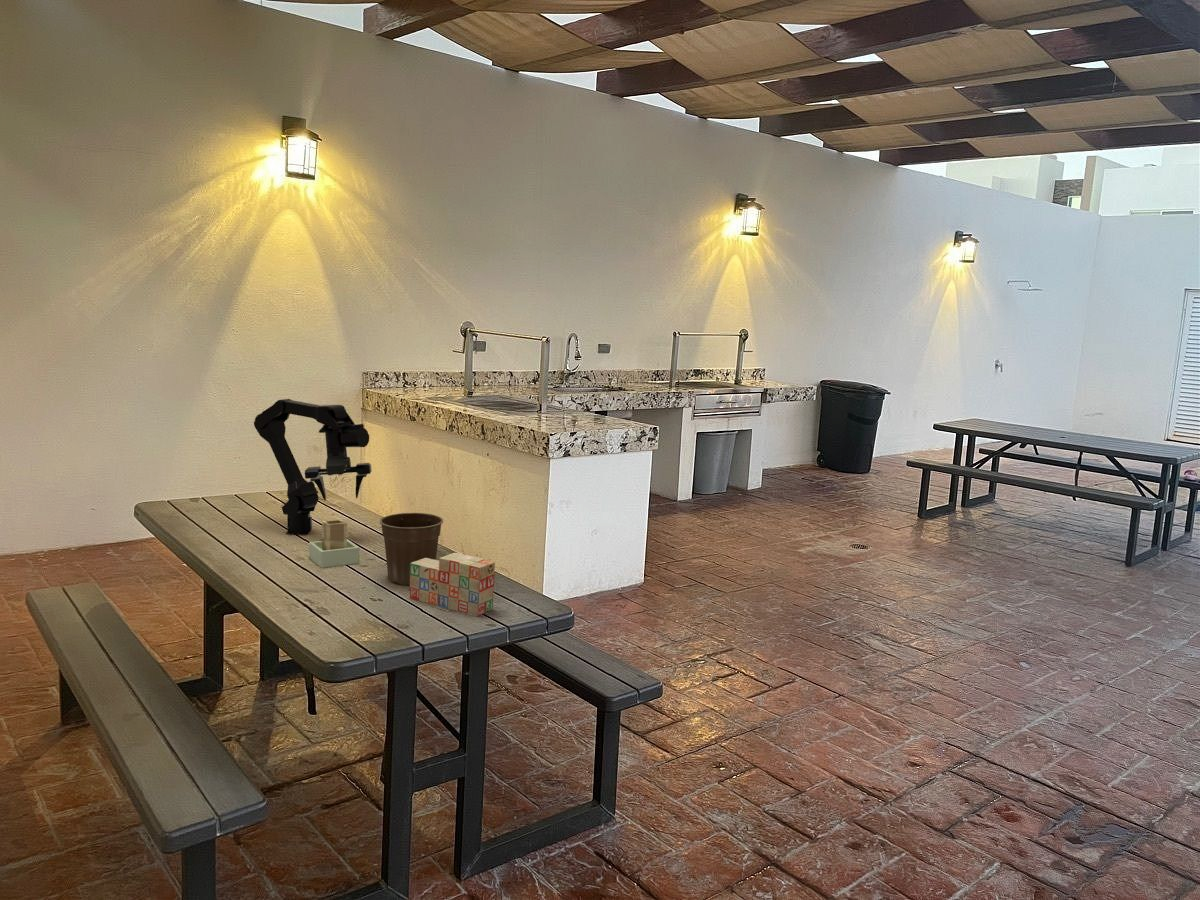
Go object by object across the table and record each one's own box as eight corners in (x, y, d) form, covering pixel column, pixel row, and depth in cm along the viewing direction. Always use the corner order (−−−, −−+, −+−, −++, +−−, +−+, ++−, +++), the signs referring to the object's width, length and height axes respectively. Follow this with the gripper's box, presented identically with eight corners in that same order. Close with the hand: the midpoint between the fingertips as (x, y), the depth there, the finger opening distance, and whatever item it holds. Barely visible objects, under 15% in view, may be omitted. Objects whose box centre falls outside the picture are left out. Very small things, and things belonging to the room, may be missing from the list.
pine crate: (321, 556, 255) (322, 521, 254) (341, 553, 259) (341, 519, 257) (327, 560, 252) (327, 524, 250) (346, 558, 255) (346, 523, 253)
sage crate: (309, 557, 257) (309, 542, 256) (346, 553, 263) (346, 538, 262) (321, 567, 248) (321, 551, 247) (359, 563, 254) (359, 547, 253)
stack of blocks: (408, 599, 227) (409, 550, 225) (425, 592, 233) (426, 545, 231) (478, 617, 217) (479, 566, 215) (493, 610, 222) (495, 561, 220)
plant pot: (387, 591, 232) (388, 529, 229) (372, 573, 246) (373, 514, 243) (449, 585, 239) (451, 524, 237) (431, 567, 254) (432, 510, 251)
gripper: (299, 452, 263) (304, 506, 265) (366, 447, 266) (370, 500, 268) (305, 448, 274) (310, 500, 276) (369, 444, 277) (373, 495, 279)
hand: (341, 499), depth 274 cm, fingers open, 9 cm apart
